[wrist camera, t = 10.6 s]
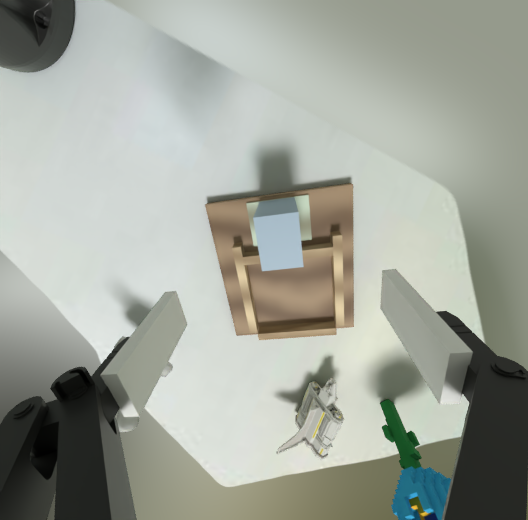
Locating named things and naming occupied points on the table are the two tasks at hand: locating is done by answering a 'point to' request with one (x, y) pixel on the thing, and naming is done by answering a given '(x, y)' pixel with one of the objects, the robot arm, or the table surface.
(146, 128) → the table surface
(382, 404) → the toy flower
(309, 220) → the jig
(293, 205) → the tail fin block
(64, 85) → the table surface
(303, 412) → the toy spacecraft
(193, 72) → the table surface
